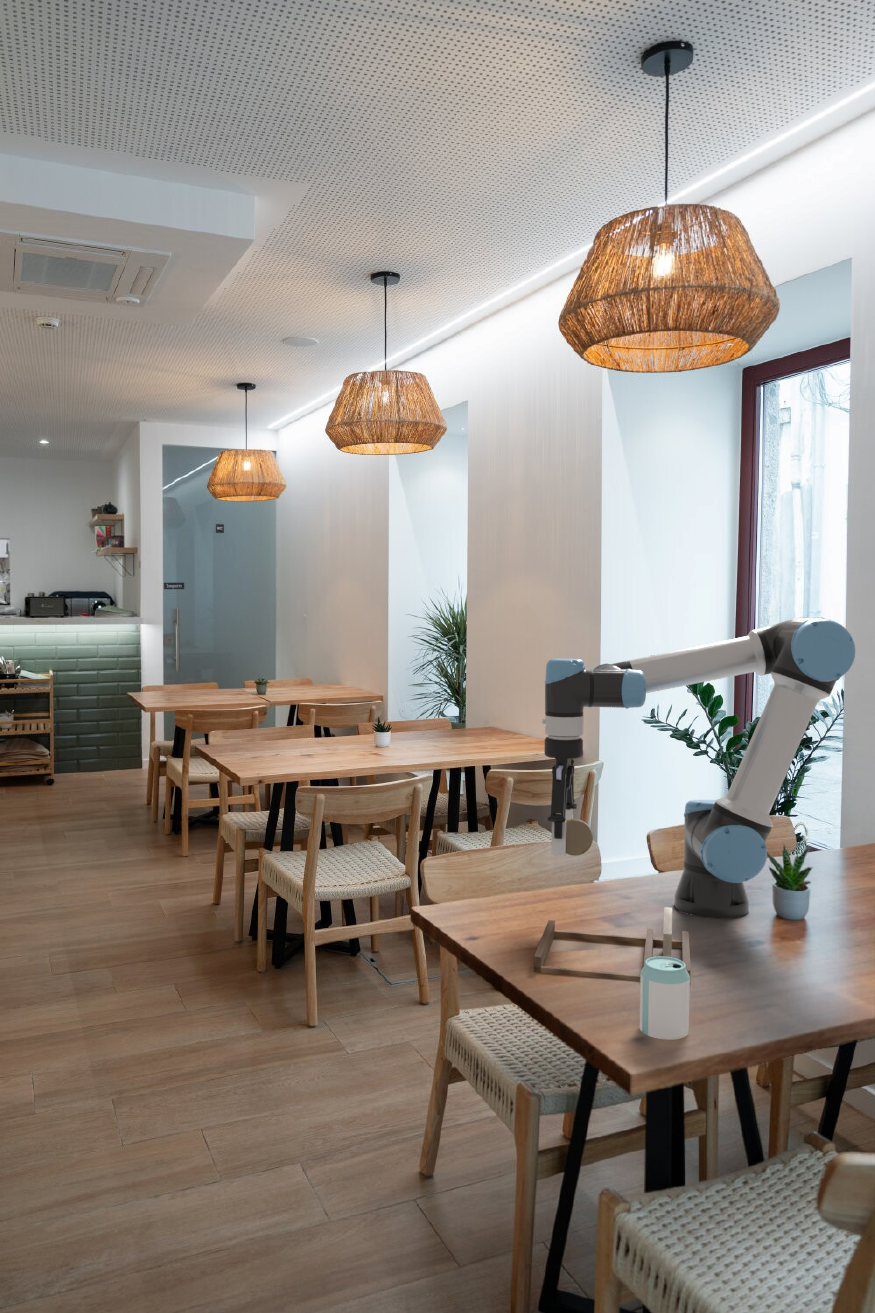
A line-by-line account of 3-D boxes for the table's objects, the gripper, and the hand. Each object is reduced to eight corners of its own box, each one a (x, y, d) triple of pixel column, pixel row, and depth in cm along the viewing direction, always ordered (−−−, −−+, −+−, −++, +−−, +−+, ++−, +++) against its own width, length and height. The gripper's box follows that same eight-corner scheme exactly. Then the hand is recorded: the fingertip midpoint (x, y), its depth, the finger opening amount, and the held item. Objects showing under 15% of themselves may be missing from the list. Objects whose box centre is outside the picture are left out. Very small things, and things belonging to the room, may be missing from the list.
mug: (590, 843, 201) (602, 809, 195) (580, 877, 194) (592, 843, 187) (555, 830, 202) (566, 796, 196) (544, 864, 195) (555, 830, 189)
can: (668, 1029, 150) (670, 951, 149) (698, 1048, 143) (700, 967, 143) (629, 1037, 147) (631, 958, 146) (658, 1057, 140) (660, 974, 140)
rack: (688, 951, 183) (689, 905, 182) (690, 993, 163) (691, 941, 163) (548, 939, 189) (548, 894, 188) (533, 978, 170) (534, 928, 169)
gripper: (552, 728, 207) (551, 833, 208) (535, 744, 185) (534, 860, 186) (589, 730, 205) (587, 835, 206) (576, 745, 183) (574, 863, 184)
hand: (562, 847), depth 196 cm, fingers closed on mug, 10 cm apart
